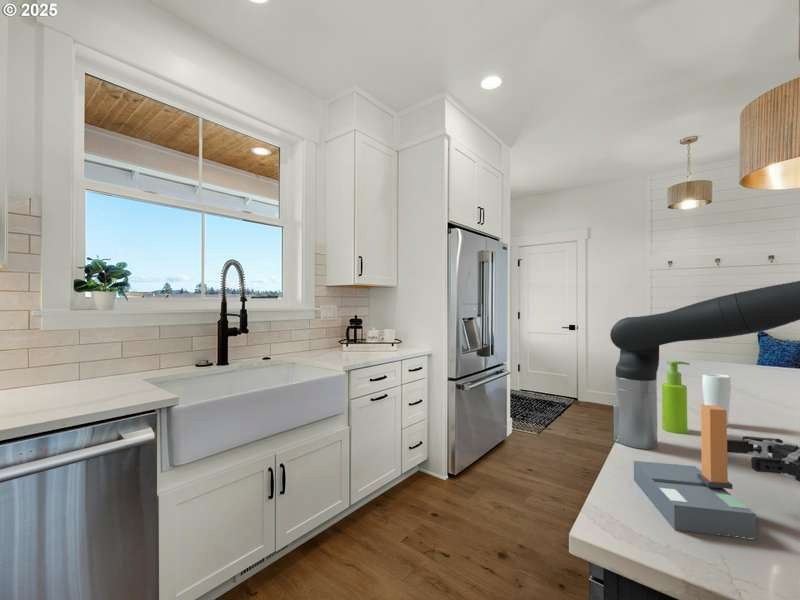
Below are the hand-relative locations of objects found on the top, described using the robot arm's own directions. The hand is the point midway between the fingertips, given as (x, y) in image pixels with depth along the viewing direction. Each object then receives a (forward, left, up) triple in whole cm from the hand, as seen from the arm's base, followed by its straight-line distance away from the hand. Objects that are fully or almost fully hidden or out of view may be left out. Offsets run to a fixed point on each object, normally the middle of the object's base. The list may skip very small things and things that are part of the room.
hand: (736, 454), depth 67 cm
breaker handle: (-3, -2, -5) cm, 6 cm away
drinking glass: (-7, +61, -10) cm, 62 cm away
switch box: (-7, -4, -10) cm, 13 cm away
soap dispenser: (-15, +46, -10) cm, 50 cm away
